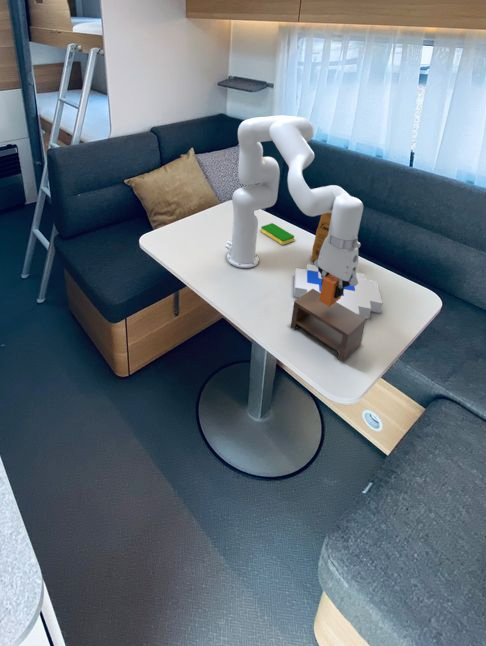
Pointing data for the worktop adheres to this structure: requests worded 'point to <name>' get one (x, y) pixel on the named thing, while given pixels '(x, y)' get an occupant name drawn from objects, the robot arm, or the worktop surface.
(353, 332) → the shelf
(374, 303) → the stepped white slab
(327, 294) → the block
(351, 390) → the worktop surface
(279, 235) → the dish sponge
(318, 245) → the coffee package
